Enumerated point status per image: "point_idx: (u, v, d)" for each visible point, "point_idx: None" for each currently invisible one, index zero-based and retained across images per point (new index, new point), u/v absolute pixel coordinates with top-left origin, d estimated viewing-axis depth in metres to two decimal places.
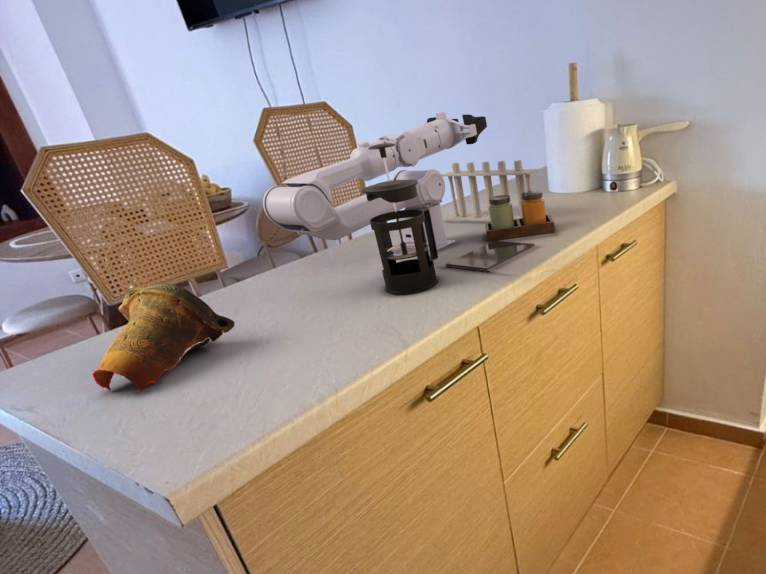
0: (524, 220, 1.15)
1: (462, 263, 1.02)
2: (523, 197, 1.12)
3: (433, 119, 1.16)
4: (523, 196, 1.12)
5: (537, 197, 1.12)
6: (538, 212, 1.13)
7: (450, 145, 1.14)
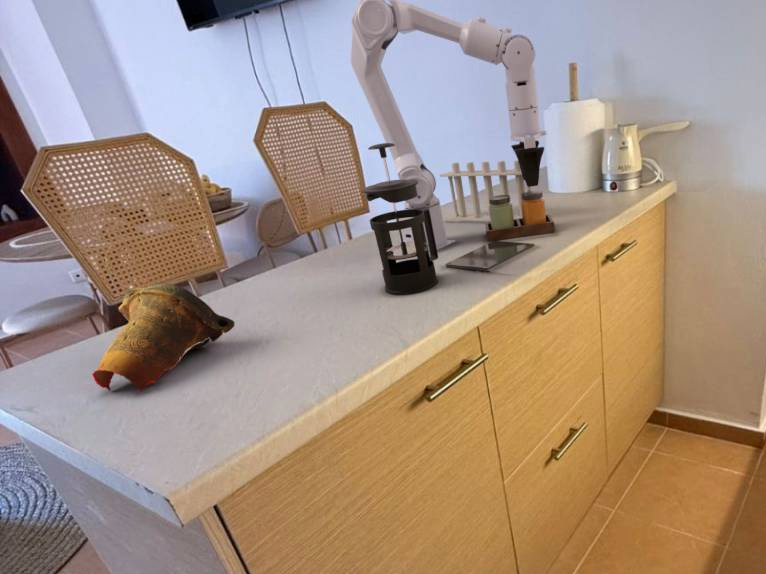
0: (524, 220, 1.15)
1: (462, 263, 1.02)
2: (523, 197, 1.12)
3: (537, 141, 1.12)
4: (523, 196, 1.12)
5: (537, 197, 1.12)
6: (538, 212, 1.13)
7: (514, 132, 1.06)
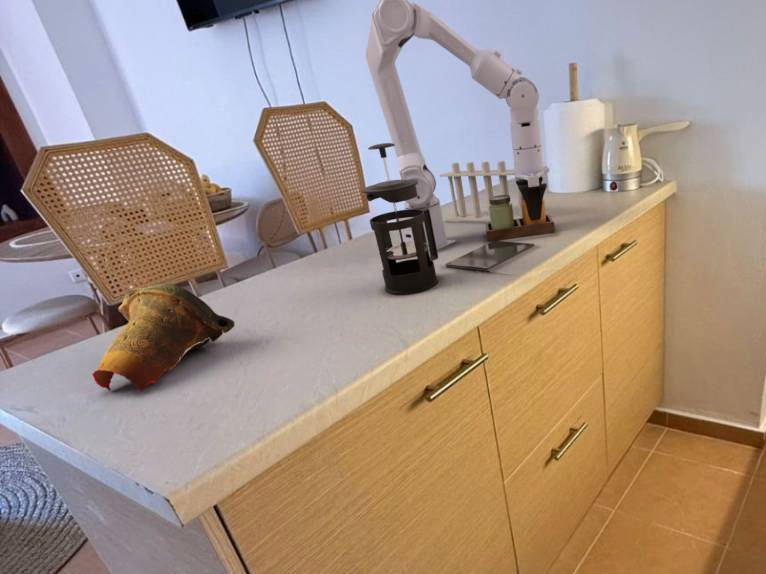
0: (524, 220, 1.15)
1: (462, 263, 1.02)
2: None
3: (540, 177, 1.15)
4: None
5: None
6: None
7: (518, 170, 1.09)
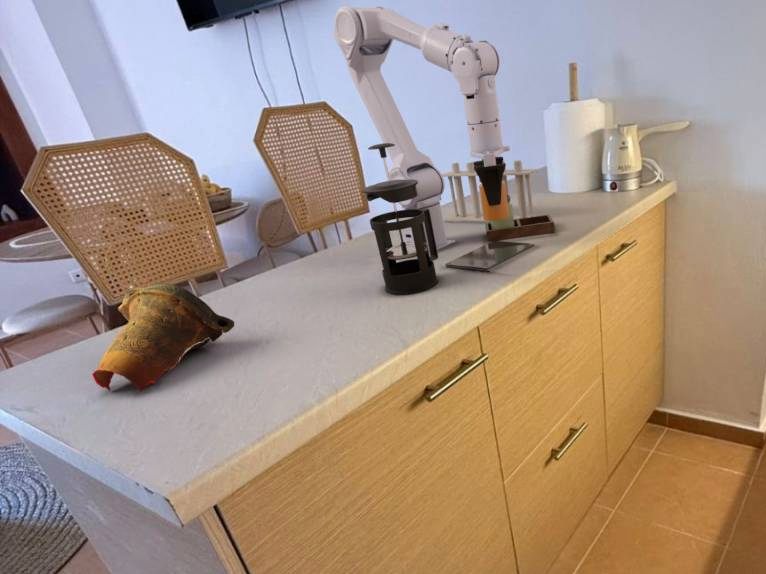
0: (483, 205, 1.02)
1: (462, 263, 1.02)
2: None
3: (501, 157, 1.02)
4: None
5: None
6: None
7: (474, 148, 0.97)
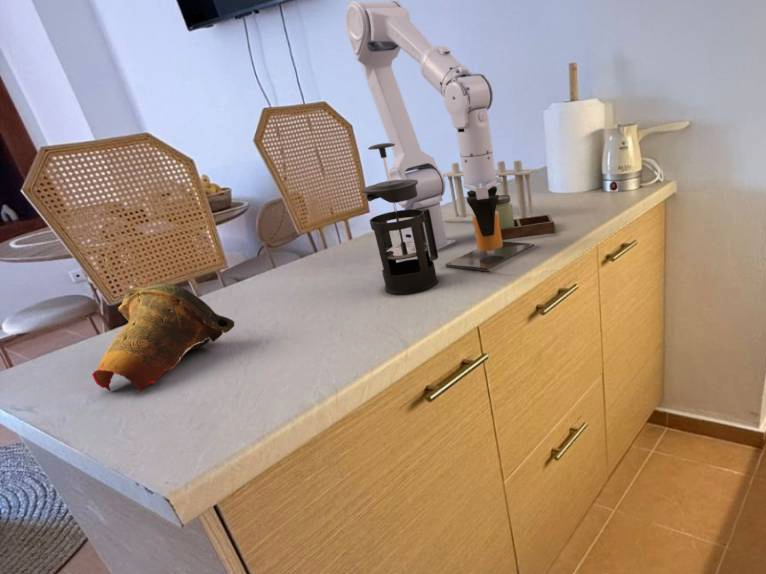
0: (476, 235, 1.02)
1: (462, 263, 1.02)
2: None
3: (495, 187, 1.02)
4: None
5: None
6: None
7: (467, 180, 0.97)
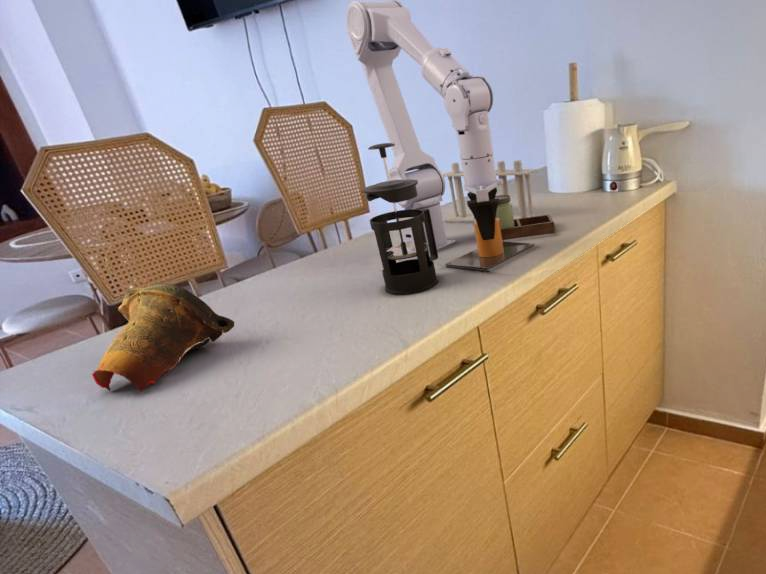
0: (477, 242, 1.03)
1: (462, 263, 1.02)
2: None
3: (495, 189, 1.03)
4: None
5: None
6: None
7: (467, 182, 0.97)
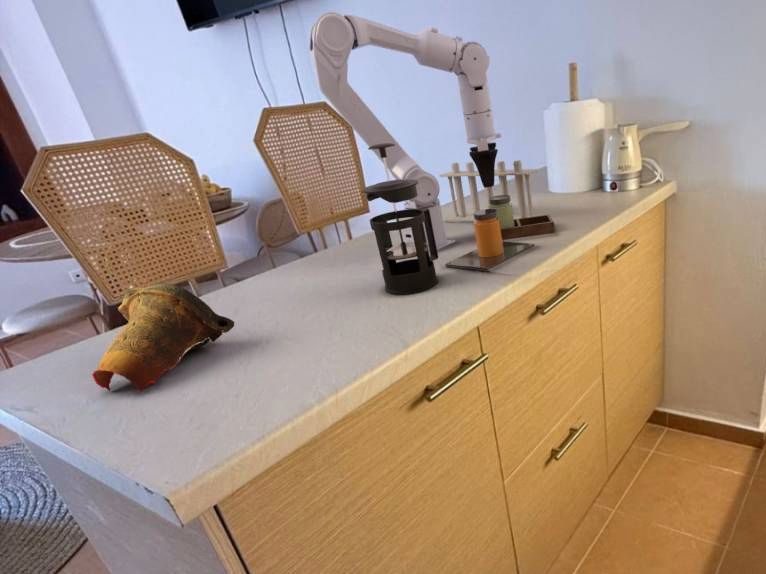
0: (477, 242, 1.03)
1: (462, 263, 1.02)
2: (475, 217, 1.01)
3: (494, 143, 1.17)
4: (475, 216, 1.00)
5: (491, 217, 1.00)
6: (492, 233, 1.01)
7: (469, 135, 1.10)
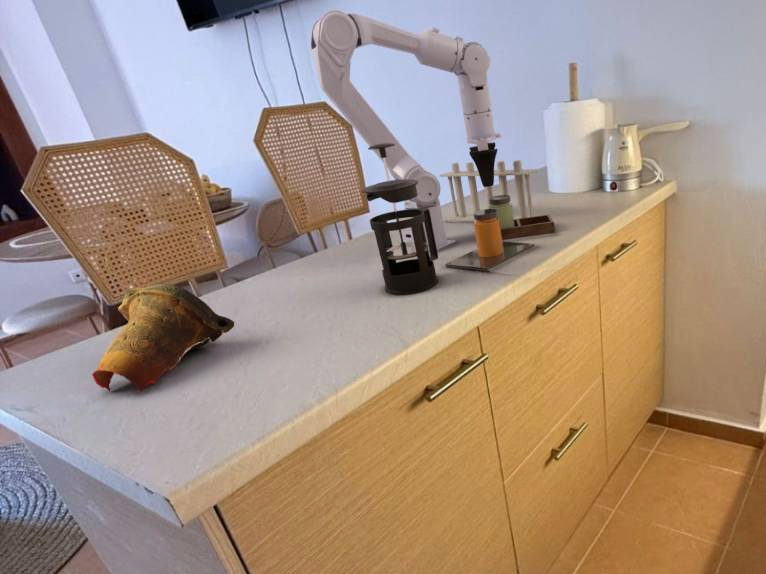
0: (477, 242, 1.03)
1: (462, 263, 1.02)
2: (475, 217, 1.01)
3: (493, 143, 1.17)
4: (475, 216, 1.00)
5: (491, 217, 1.00)
6: (492, 233, 1.01)
7: (469, 135, 1.11)
